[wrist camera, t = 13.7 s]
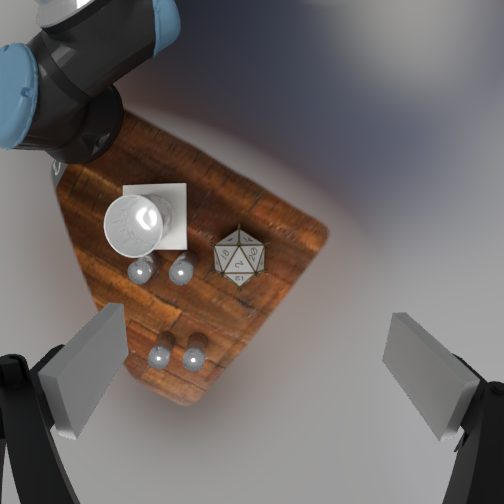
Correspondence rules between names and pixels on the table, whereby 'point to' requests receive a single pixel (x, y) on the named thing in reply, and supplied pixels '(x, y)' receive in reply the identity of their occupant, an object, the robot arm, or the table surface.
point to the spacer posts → (165, 340)
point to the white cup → (138, 223)
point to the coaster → (178, 201)
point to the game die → (239, 257)
